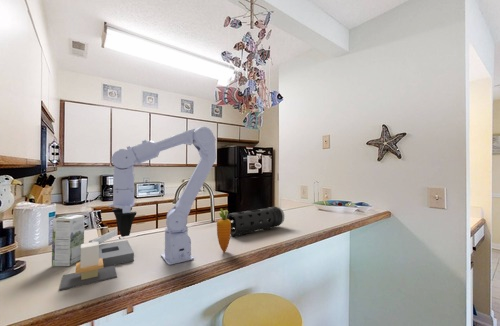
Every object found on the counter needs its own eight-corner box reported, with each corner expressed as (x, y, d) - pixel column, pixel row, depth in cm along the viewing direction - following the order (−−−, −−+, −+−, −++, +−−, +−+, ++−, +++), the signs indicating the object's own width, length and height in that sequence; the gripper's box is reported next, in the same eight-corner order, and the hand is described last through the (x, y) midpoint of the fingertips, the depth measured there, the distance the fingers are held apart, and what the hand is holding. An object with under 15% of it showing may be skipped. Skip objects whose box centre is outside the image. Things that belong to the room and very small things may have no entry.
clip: (118, 236, 91) (118, 229, 91) (92, 250, 76) (93, 241, 76) (113, 237, 91) (113, 229, 91) (87, 250, 76) (87, 241, 76)
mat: (116, 277, 63) (116, 275, 63) (59, 290, 56) (59, 289, 56) (114, 265, 70) (114, 264, 70) (63, 276, 63) (63, 275, 63)
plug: (103, 276, 62) (103, 245, 62) (75, 283, 59) (75, 249, 59) (102, 268, 67) (102, 239, 67) (76, 274, 64) (76, 243, 64)
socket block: (133, 260, 74) (133, 252, 74) (87, 270, 67) (87, 261, 67) (127, 246, 87) (127, 240, 87) (88, 253, 80) (88, 246, 80)
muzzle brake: (225, 234, 103) (225, 211, 103) (272, 225, 120) (272, 205, 120) (236, 239, 95) (236, 214, 96) (285, 229, 112) (285, 207, 112)
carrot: (232, 253, 79) (232, 209, 80) (218, 255, 78) (217, 210, 78) (229, 249, 84) (229, 207, 84) (215, 250, 83) (215, 208, 83)
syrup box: (66, 259, 76) (67, 214, 76) (84, 259, 76) (84, 214, 76) (51, 266, 70) (51, 218, 70) (70, 266, 70) (70, 218, 70)
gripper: (107, 188, 76) (107, 230, 75) (110, 191, 64) (110, 241, 63) (131, 187, 80) (131, 226, 79) (138, 190, 68) (138, 236, 67)
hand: (123, 233), depth 72 cm, fingers open, 7 cm apart
